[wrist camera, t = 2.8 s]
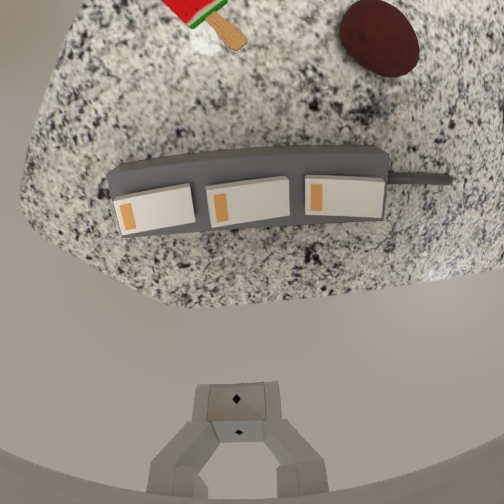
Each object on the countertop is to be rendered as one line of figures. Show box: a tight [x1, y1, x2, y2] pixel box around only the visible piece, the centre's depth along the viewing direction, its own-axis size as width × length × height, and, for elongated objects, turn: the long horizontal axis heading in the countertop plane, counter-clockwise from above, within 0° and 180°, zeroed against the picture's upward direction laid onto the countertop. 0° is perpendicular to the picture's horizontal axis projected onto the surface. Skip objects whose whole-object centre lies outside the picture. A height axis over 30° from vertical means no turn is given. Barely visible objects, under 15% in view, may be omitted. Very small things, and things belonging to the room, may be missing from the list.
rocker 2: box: [205, 176, 290, 228], centre depth 27 cm, size 7×3×1 cm, turn 94°
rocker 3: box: [305, 175, 385, 218], centre depth 27 cm, size 7×3×1 cm, turn 94°
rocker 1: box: [113, 183, 195, 235], centre depth 27 cm, size 7×3×1 cm, turn 94°
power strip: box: [106, 145, 453, 238], centre depth 30 cm, size 38×7×5 cm, turn 94°
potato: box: [340, 0, 420, 77], centre depth 21 cm, size 7×8×6 cm
